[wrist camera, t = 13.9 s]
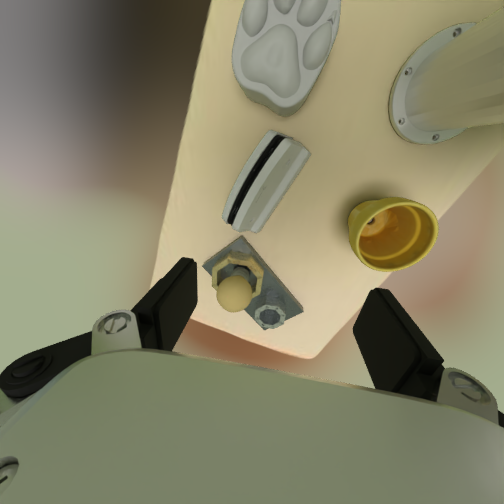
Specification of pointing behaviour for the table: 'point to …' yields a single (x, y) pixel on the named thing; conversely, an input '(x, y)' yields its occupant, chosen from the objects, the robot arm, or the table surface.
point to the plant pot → (392, 233)
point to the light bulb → (235, 291)
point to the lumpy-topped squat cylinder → (283, 49)
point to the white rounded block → (264, 181)
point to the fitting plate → (255, 284)
